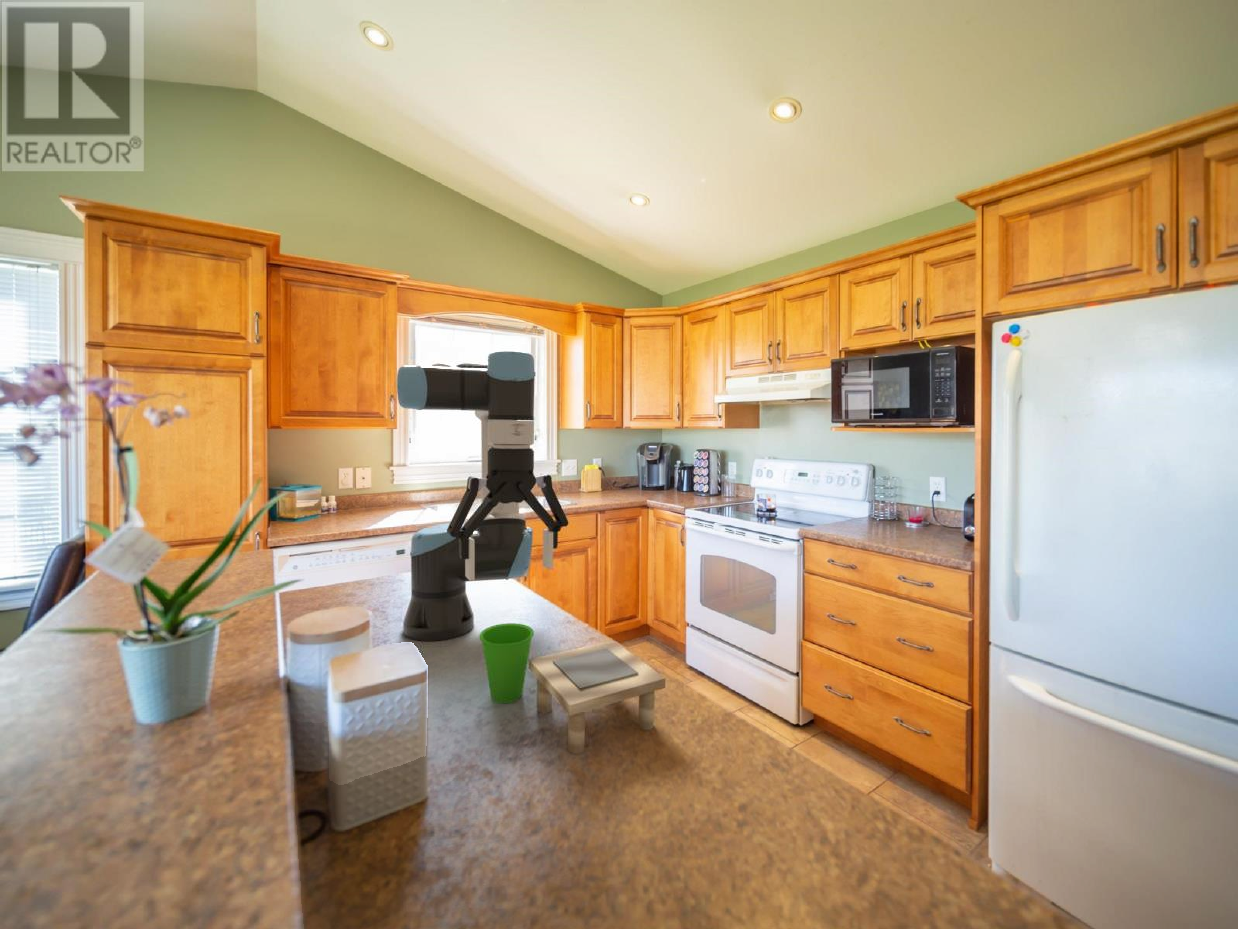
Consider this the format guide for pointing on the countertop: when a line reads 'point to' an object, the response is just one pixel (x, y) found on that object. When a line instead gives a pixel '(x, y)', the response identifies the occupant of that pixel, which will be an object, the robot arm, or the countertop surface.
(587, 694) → the stool
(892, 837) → the countertop surface
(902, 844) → the countertop surface
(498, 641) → the cup
